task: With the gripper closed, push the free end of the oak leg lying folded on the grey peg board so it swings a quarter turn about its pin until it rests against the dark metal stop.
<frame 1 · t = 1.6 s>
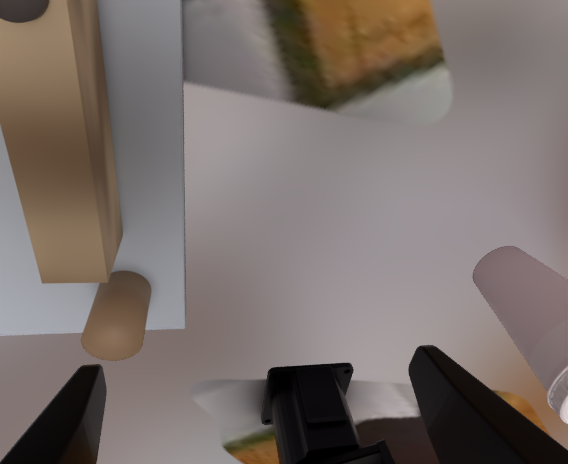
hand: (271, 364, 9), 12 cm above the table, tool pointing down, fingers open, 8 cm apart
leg: (62, 132, 14), point 4 cm above the table, hinge at 90.0°
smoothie: (496, 266, 27), on the table
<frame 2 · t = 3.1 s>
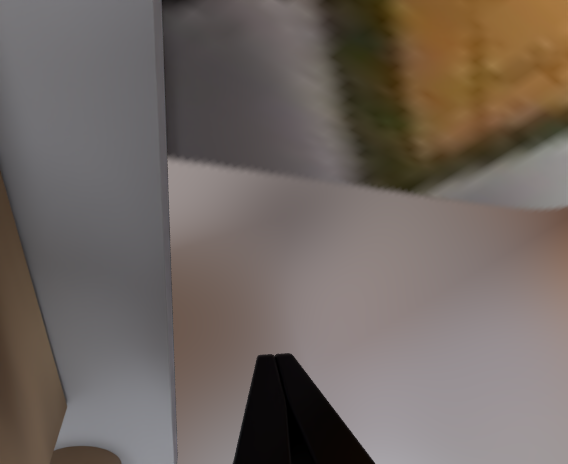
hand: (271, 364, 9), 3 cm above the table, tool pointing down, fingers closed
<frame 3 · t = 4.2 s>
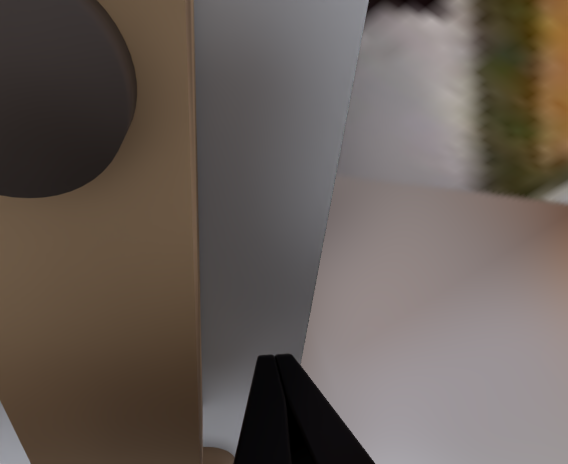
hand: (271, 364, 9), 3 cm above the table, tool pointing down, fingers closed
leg: (126, 330, 7), point 4 cm above the table, hinge at 90.0°, touching gripper
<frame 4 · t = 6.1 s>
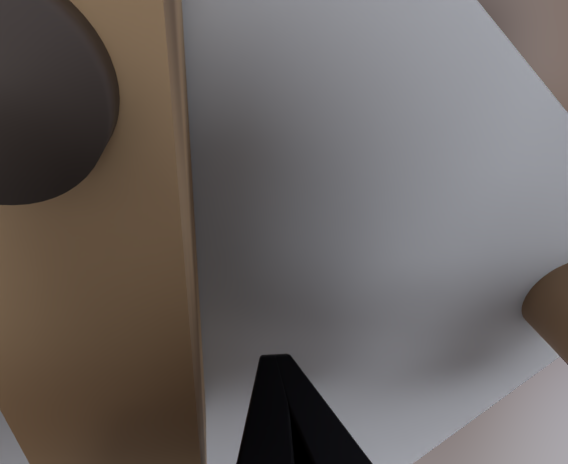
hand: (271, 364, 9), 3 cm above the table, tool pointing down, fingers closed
grey peg board: (236, 330, 12), on the table
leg: (124, 333, 7), point 4 cm above the table, hinge at 32.7°, touching gripper
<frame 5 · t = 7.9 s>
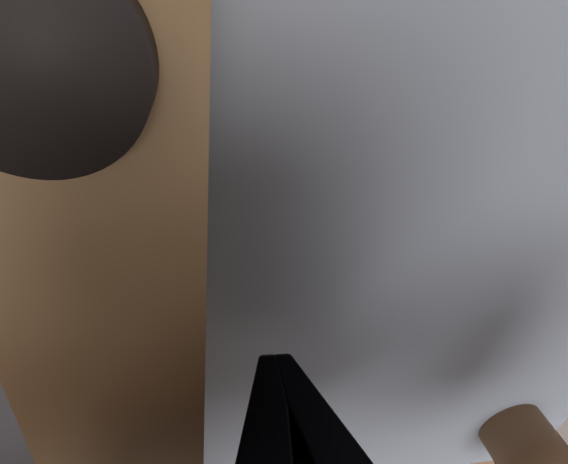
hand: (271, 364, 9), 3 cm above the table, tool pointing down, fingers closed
grey peg board: (378, 263, 12), on the table
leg: (130, 324, 6), point 4 cm above the table, hinge at 0.4°, touching gripper
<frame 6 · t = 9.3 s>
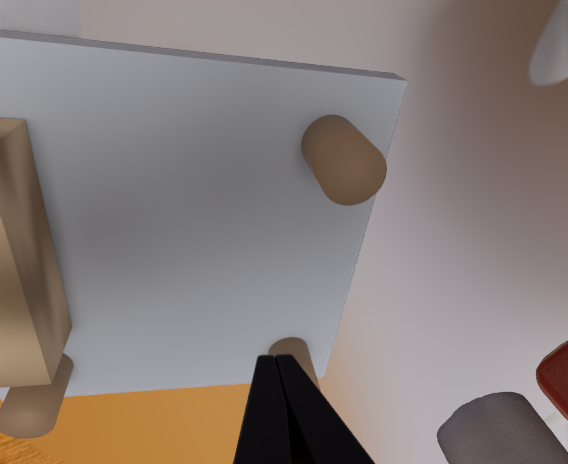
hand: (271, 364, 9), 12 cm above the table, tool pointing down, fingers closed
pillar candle: (479, 418, 39), on the table
grey peg board: (174, 248, 21), on the table
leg: (4, 268, 16), point 4 cm above the table, hinge at 0.0°
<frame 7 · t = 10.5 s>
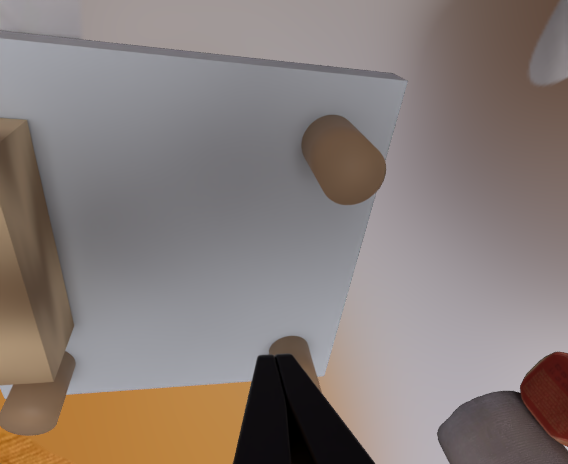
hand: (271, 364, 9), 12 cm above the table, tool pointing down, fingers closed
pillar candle: (480, 417, 39), on the table
grey peg board: (176, 247, 21), on the table
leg: (7, 267, 16), point 4 cm above the table, hinge at 0.0°
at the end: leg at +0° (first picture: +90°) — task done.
